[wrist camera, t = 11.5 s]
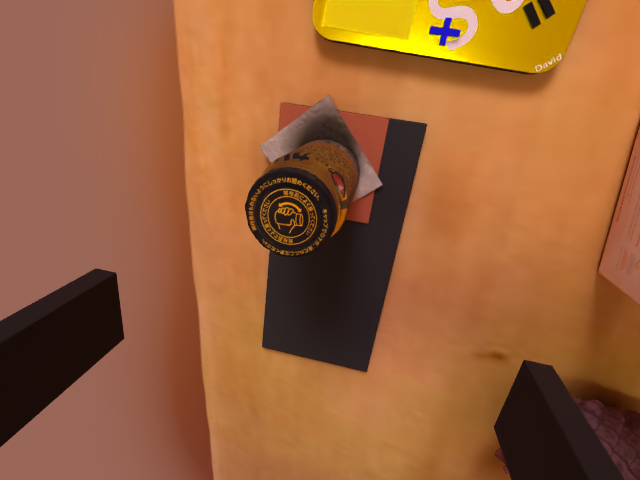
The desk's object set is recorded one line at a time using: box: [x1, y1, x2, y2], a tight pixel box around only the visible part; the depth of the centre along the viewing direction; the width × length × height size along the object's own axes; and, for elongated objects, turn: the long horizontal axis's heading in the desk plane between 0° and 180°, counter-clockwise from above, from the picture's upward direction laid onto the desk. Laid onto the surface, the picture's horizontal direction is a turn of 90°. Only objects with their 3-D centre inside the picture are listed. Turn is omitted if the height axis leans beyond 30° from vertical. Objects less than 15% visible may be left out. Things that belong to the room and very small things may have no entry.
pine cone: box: [495, 396, 640, 480], centre depth 31 cm, size 18×10×10 cm
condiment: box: [245, 95, 383, 257], centre depth 24 cm, size 7×8×12 cm
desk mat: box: [262, 103, 427, 372], centre depth 33 cm, size 26×12×1 cm, turn 172°
